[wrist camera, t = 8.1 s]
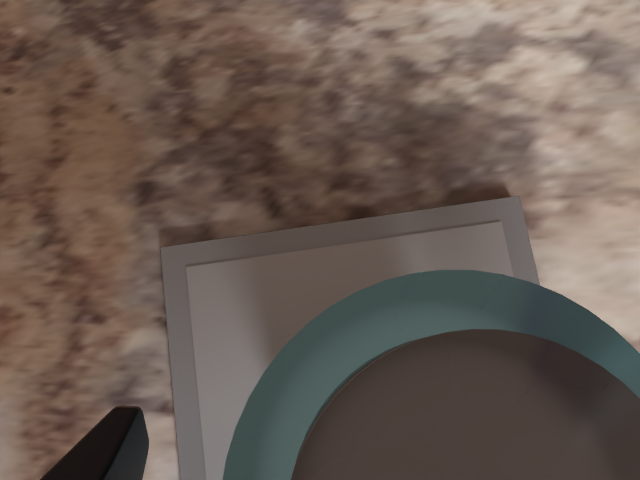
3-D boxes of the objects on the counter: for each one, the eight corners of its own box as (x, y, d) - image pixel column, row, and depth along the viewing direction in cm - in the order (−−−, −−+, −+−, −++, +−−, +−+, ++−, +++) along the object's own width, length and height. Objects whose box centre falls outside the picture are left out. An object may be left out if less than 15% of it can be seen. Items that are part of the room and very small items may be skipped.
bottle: (424, 524, 17) (732, 1027, 4) (265, 463, 17) (100, 754, 5) (472, 361, 18) (844, 361, 5) (321, 306, 18) (315, 181, 5)
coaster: (600, 584, 17) (612, 593, 16) (200, 647, 17) (194, 659, 16) (513, 200, 20) (520, 194, 19) (165, 251, 19) (159, 246, 19)
